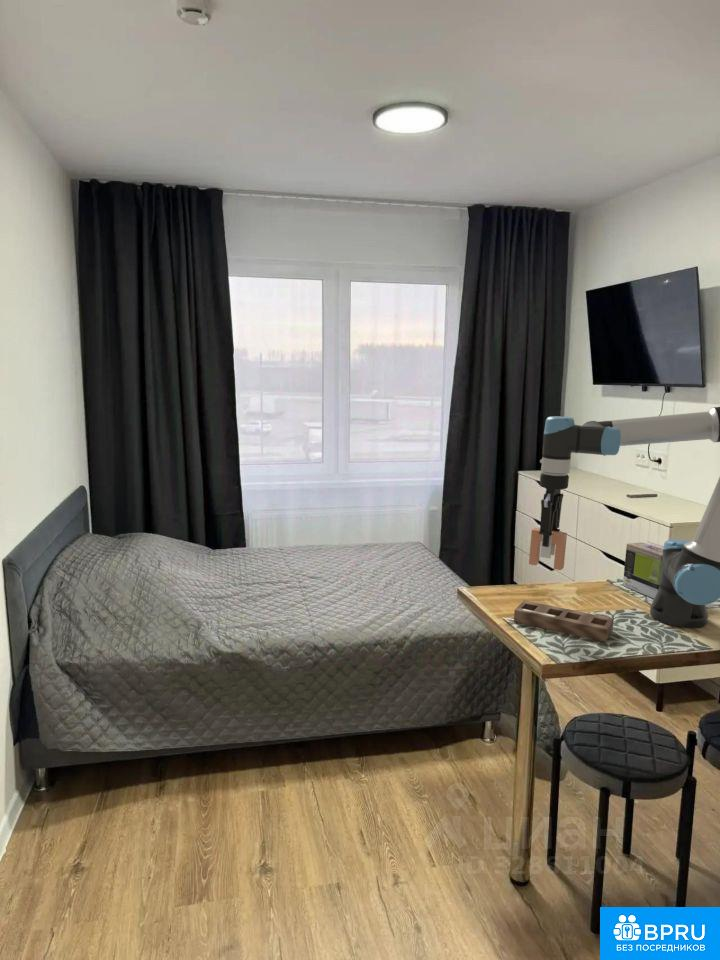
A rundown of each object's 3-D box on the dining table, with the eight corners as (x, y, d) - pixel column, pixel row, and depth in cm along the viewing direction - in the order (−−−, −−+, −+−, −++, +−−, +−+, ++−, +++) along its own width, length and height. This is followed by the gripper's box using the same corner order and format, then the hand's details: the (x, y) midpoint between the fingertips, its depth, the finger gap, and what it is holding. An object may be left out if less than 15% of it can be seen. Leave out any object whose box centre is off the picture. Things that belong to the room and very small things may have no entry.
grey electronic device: (680, 597, 209) (686, 552, 207) (656, 601, 206) (661, 555, 203) (644, 582, 223) (649, 540, 220) (621, 585, 219) (625, 542, 217)
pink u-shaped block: (563, 567, 185) (567, 533, 183) (560, 570, 182) (564, 535, 181) (532, 561, 190) (535, 527, 188) (528, 564, 187) (531, 529, 185)
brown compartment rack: (612, 630, 182) (613, 617, 182) (606, 642, 175) (607, 628, 174) (523, 611, 195) (524, 599, 194) (513, 621, 187) (514, 609, 186)
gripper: (549, 467, 190) (542, 546, 194) (532, 475, 176) (525, 560, 181) (576, 471, 186) (568, 551, 190) (560, 479, 172) (552, 565, 177)
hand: (547, 555), depth 185 cm, fingers closed on pink u-shaped block, 3 cm apart
